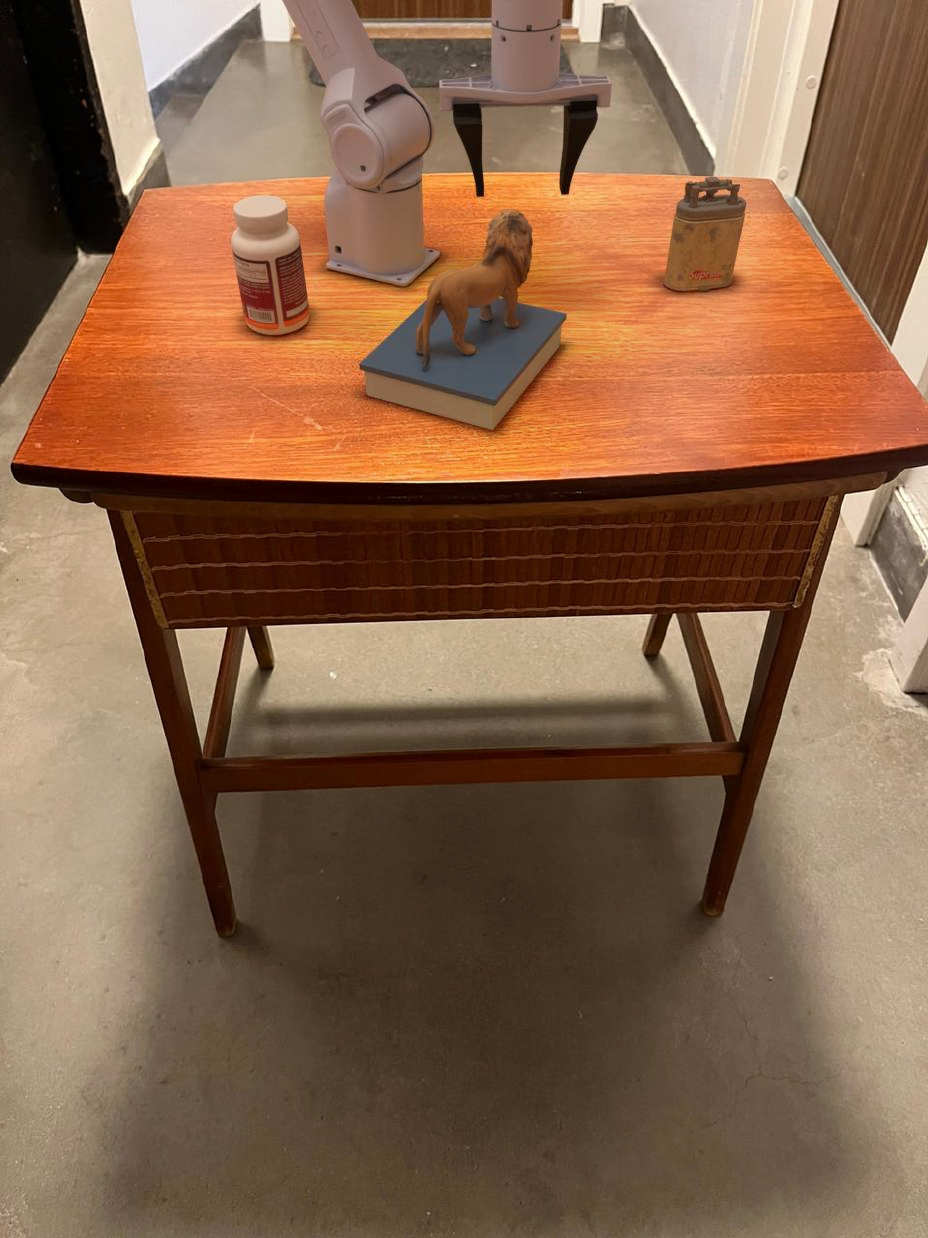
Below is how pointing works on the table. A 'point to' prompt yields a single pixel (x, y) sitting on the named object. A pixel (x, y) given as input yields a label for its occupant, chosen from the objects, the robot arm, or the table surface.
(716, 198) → the lighter
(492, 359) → the blue book
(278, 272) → the pill bottle
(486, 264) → the lion figurine
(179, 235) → the table surface
